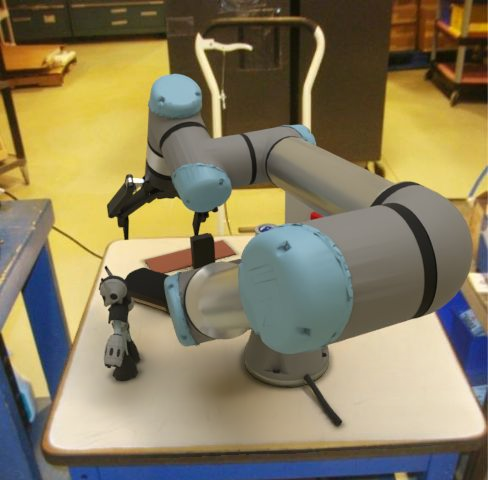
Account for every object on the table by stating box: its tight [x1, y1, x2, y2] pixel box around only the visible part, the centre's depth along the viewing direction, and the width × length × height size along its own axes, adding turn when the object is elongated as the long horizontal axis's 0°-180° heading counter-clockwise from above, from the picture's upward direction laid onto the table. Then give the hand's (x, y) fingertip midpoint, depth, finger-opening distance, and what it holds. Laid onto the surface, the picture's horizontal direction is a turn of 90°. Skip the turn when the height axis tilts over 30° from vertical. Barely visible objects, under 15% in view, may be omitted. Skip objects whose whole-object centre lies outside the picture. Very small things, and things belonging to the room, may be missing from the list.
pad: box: [144, 239, 237, 274], centre depth 144 cm, size 8×20×1 cm, turn 116°
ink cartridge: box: [189, 232, 216, 270], centre depth 138 cm, size 5×2×8 cm, turn 110°
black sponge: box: [124, 267, 171, 314], centre depth 129 cm, size 16×8×4 cm, turn 59°
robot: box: [98, 265, 141, 382], centre depth 106 cm, size 20×5×20 cm, turn 2°
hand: (160, 232), depth 120 cm, fingers open, 13 cm apart
